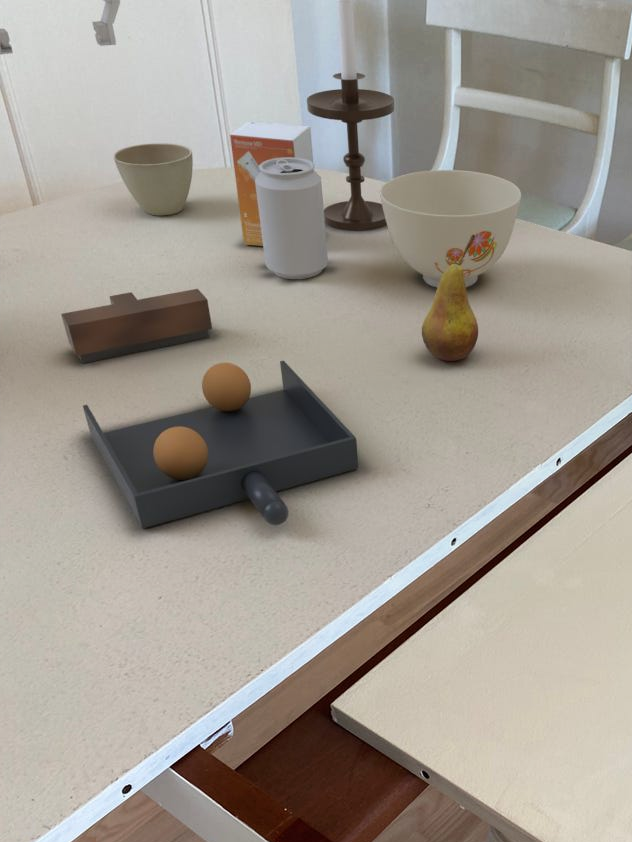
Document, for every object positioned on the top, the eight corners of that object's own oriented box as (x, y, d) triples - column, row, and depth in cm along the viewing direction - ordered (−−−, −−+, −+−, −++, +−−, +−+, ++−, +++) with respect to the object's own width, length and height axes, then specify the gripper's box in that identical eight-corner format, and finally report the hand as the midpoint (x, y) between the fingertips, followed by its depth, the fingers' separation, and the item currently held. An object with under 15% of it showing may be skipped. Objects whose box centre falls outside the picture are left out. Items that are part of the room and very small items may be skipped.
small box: (243, 246, 123) (227, 133, 114) (261, 228, 127) (247, 119, 119) (304, 252, 122) (293, 139, 113) (320, 234, 126) (311, 124, 118)
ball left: (147, 477, 79) (184, 496, 83) (187, 450, 78) (224, 471, 82) (137, 435, 81) (174, 455, 85) (177, 408, 80) (213, 430, 83)
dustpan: (91, 437, 87) (82, 405, 85) (287, 390, 95) (283, 360, 93) (165, 571, 73) (157, 537, 71) (389, 504, 81) (387, 471, 78)
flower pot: (206, 197, 136) (197, 142, 131) (195, 222, 129) (185, 164, 124) (133, 197, 136) (122, 141, 131) (118, 222, 128) (105, 164, 123)
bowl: (380, 306, 110) (376, 214, 103) (385, 253, 122) (382, 168, 115) (521, 307, 111) (526, 216, 104) (512, 255, 123) (516, 170, 116)
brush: (79, 365, 98) (68, 325, 95) (60, 333, 103) (49, 294, 100) (214, 338, 103) (207, 299, 100) (189, 308, 108) (182, 271, 106)
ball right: (205, 379, 86) (189, 365, 89) (219, 424, 89) (203, 409, 92) (251, 364, 88) (233, 350, 91) (263, 408, 91) (246, 394, 94)
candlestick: (372, 200, 137) (357, -114, 113) (412, 223, 130) (405, -105, 107) (303, 213, 132) (271, -111, 109) (341, 238, 125) (316, -101, 102)
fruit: (426, 343, 103) (424, 227, 95) (480, 347, 103) (483, 230, 95) (418, 367, 99) (415, 247, 91) (474, 371, 99) (476, 251, 91)
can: (284, 286, 114) (271, 177, 106) (255, 266, 118) (241, 160, 110) (340, 273, 117) (332, 166, 109) (310, 253, 121) (300, 150, 113)
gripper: (-120, -135, 76) (-58, 66, 85) (140, -138, 84) (171, 45, 93) (-128, -141, 80) (-69, 51, 89) (121, -143, 88) (152, 33, 97)
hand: (56, 48), depth 92 cm, fingers open, 8 cm apart
